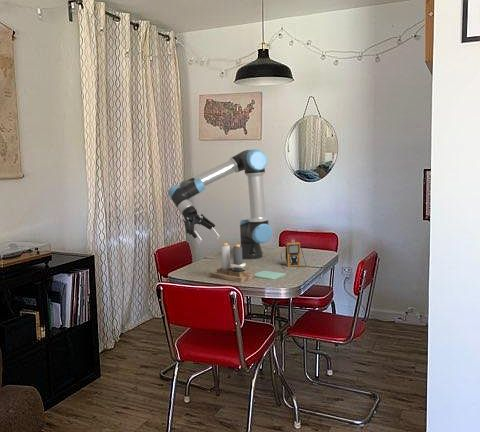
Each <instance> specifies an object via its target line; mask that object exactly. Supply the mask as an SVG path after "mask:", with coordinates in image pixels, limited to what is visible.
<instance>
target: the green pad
mask: <svg viewBox="0 0 480 432" xmlns="http://www.w3.org/2000/svg"><path fill="white" fill-rule="evenodd" d="M254 274H255V278H258V277H259V278H258V279H264V278H265V280H271V281H272V280H273V279H274V280H276V279H278V278H282V277H285V276H287V273H283V272H276V271H268V270H262V271H259V272H256V273H254ZM274 280H273V281H274Z"/></svg>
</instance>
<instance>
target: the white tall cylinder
mask: <svg viewBox="0 0 480 432" xmlns="http://www.w3.org/2000/svg"><path fill="white" fill-rule="evenodd" d="M230 247H231V246H230V245H229V243H228V242H223V243H222V245H220V252H221V253H220V258H221V268H222V270H226V271H227V270H230V268H231V265H230V264H231V253H230V252H231V250H230V249H231V248H230Z"/></svg>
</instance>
